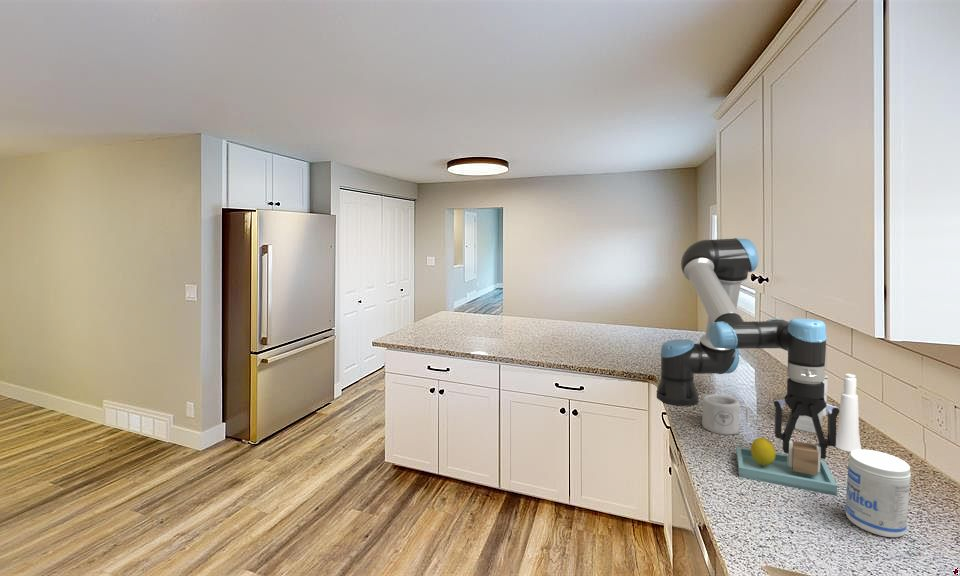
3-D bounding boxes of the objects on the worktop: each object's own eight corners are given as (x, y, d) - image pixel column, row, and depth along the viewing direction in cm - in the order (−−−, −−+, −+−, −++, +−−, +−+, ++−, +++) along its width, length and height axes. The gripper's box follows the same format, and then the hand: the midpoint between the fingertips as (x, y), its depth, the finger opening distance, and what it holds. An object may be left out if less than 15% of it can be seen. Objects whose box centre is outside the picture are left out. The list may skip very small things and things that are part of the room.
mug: (705, 433, 136) (705, 403, 135) (699, 420, 146) (699, 392, 145) (753, 437, 131) (754, 407, 130) (743, 423, 141) (744, 395, 141)
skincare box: (799, 421, 142) (800, 376, 140) (824, 426, 137) (825, 380, 136) (794, 429, 136) (795, 382, 134) (820, 435, 131) (822, 386, 130)
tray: (736, 454, 121) (736, 446, 121) (824, 469, 111) (824, 460, 111) (738, 476, 110) (739, 467, 110) (836, 495, 100) (837, 485, 100)
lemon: (749, 467, 113) (750, 438, 112) (751, 459, 117) (752, 431, 116) (774, 473, 109) (775, 444, 109) (775, 464, 114) (776, 436, 113)
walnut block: (789, 462, 112) (790, 440, 111) (813, 466, 109) (814, 444, 109) (792, 471, 108) (793, 448, 107) (817, 475, 105) (818, 452, 105)
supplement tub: (835, 518, 92) (838, 454, 91) (859, 506, 96) (862, 444, 95) (893, 545, 83) (896, 475, 82) (916, 531, 87) (920, 463, 86)
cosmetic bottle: (865, 449, 121) (868, 375, 119) (855, 454, 118) (858, 379, 116) (840, 441, 127) (842, 370, 125) (830, 446, 124) (832, 373, 122)
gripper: (764, 379, 108) (763, 466, 110) (856, 388, 99) (852, 482, 101) (761, 372, 114) (760, 453, 116) (847, 379, 106) (844, 467, 107)
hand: (803, 466), depth 109 cm, fingers closed on walnut block, 5 cm apart
